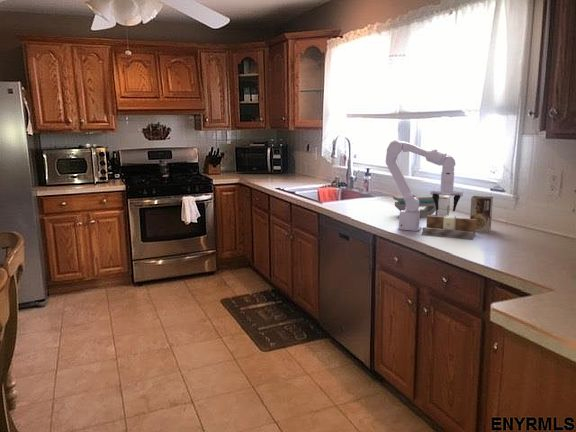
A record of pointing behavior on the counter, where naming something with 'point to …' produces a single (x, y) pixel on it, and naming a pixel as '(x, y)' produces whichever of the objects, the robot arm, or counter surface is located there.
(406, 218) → the robot arm
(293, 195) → the counter surface
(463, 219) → the cleat board
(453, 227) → the cream box
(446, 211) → the syrup box
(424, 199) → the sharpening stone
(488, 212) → the coffee box
